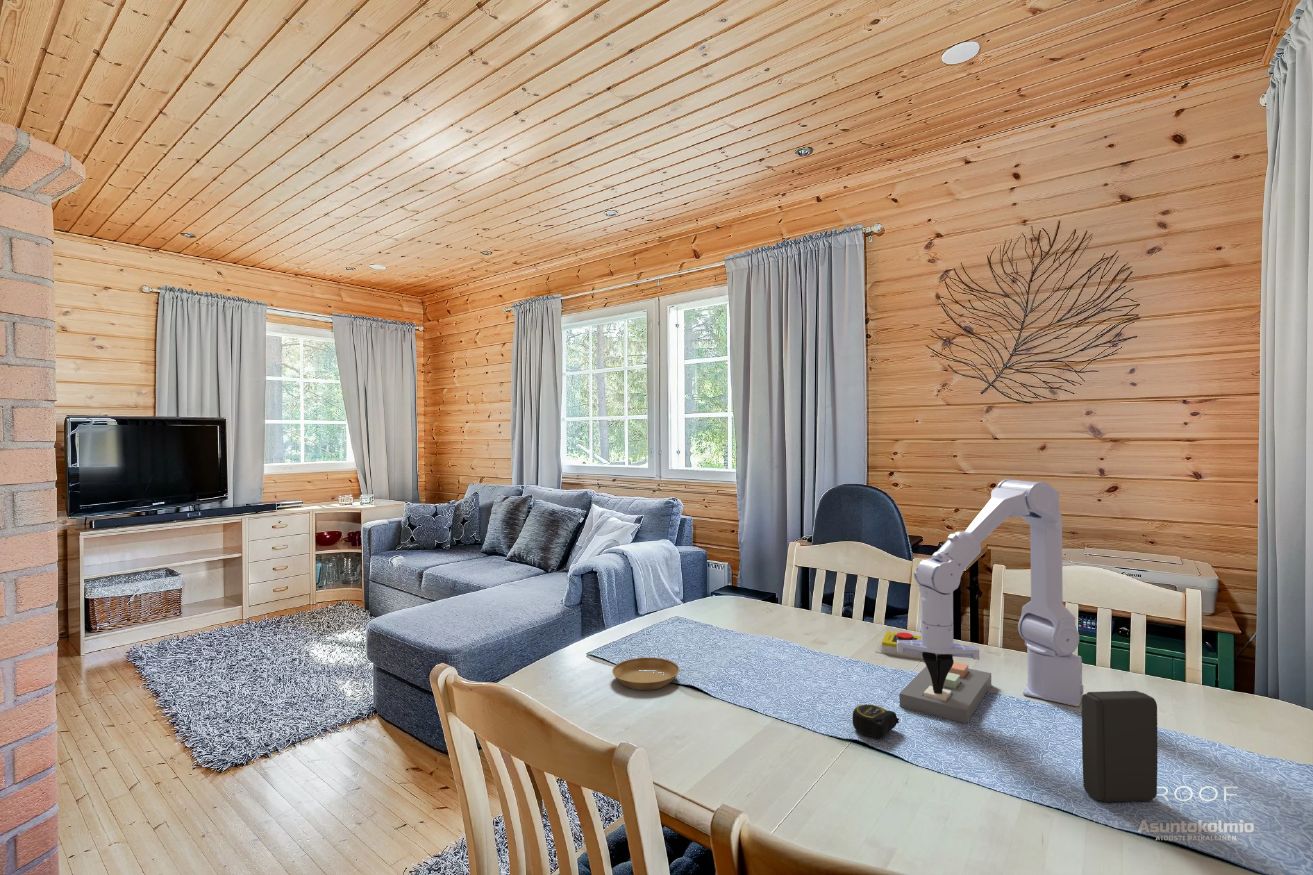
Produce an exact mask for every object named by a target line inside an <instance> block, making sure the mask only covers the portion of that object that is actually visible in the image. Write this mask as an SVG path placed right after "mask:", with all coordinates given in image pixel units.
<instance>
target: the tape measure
mask: <svg viewBox="0 0 1313 875" xmlns="http://www.w3.org/2000/svg"><path fill="white" fill-rule="evenodd" d="M899 721H900V717H899V718H898V717H897V714H896V712H894V711H892V710H887V709H885V708H884V707H881V706H878V705H875V704H860V705H857V706H856V707H855V708H854V709H853V711H852V726H853V727H854V729H855V730H856V731H857V732H859V733H860V734H862V735H864V736H868V737H874V738H879V739H882V738H884V737H885V736H886V735H887V733H889V732H890V731H891V730H893V729H894V728H895V727H896V726H897V724H899V723H900V722H899Z"/></svg>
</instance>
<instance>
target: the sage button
mask: <svg viewBox="0 0 1313 875" xmlns="http://www.w3.org/2000/svg"><path fill="white" fill-rule="evenodd" d="M959 686H960V675H958V674H954V673H948V675H947V677H946V679H945V682H944V685H943V687H948V688H952V689H957V688H958V687H959Z"/></svg>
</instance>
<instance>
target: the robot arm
mask: <svg viewBox="0 0 1313 875" xmlns="http://www.w3.org/2000/svg"><path fill="white" fill-rule="evenodd" d="M990 495H991V496H990V498H989V500H988V501H987V503H986V504H985V506H984V507H983V508H982V509H981V510H980V512H979V513H978V514H977V516H975V518H974V519H973V520H972V521H971V523H970V524H969V525H968V527H967V528H966V529H965V530H964V531H955V532H954V533H950V534H949V535H948V536H947V540H946V541H945V542H944V543H943V545H941V547H939V549H938V550H937V551H935V552H934V553H933V554H932V556H931V558H927V559H923V560H921V561H920V563H919V564H918V565H917V567H916V569H915V571H914V572H913V577H914V578H913V579H914V580H915V582H916V584H917V585H918V592H919V594H920V636H921V640H897V652H898V653H903V652H910V653H921V654H922V656H923V659H924V660H923V662H924V663H925V667H926V666H927V668H928V671H929V673H930V676H931V680H932V685H933V691H934V693H937V694H942V690H943V685H944V682H945V679H946V677H947V675H948V673H949V671H950V669H951V668H952V666H953V663H954V662H955V661H954V657H957V658H958V657H959V658H969V659H973V660H977V661H979V660H980V648H979V646H975V645H967V644H960V643H955V642H954V591H955V590H957V589H958V588H959V586H960V583H961V577H962V575H963V573H964V571H965V569H967V567H968V566H969V565H970V564H971V563H972V562H973V561H974V560H975V559H976V558H977V557H978V556H979V554H981V550H982V548H981V543H982V542H983V541H984V540H985V539H987V537H989V536H990V535H991V534H992V533H993V532H994V531H995V530H996V529H997V528H998V527H999V526H1000V525H1001V524H1003V523H1004V522H1005V521H1006V520H1007V519H1008V518H1014V517H1020V518H1022V520H1024V521H1025V522H1026V523H1028V525H1029V526H1030V533H1029V534H1030V535H1029V536H1030V538H1029V539H1030V601H1028V602H1027V603H1025V604H1024V605H1023V606H1022V607H1021V615H1020V617H1019V620H1018V625H1017V630H1018V633H1019V636H1020V637H1021V638H1022V640H1024V646H1026V647H1027V648H1026V649H1027V652H1026V653H1027V654H1026V655H1027V657H1026V658H1027V683H1026V684H1025V687H1024V688H1023V691H1022V694H1023V695H1024V696H1028V697H1033V698H1037V699H1041V700H1047V701H1050V702H1055V703H1059V704H1060V703H1061V704H1064V705H1069V706H1074V707H1080V706H1081V705H1080V704H1081V702H1082V696H1083V695H1084V685H1083V658H1082V656H1080V655H1077V654H1074V652H1075V651H1076V650H1077V649H1078V648H1079V647H1078V646H1079V644H1080V633H1079V631H1078V628H1077V626H1076V617H1075V616H1074V615H1073V614H1072V612H1071V611H1070V610H1069V609H1068V608H1067V607H1066V606H1065V605H1064V603H1063V600H1064V599H1063V517H1062V516H1063V515H1062V513H1061V512H1062V511H1061V510H1060V492H1059V491H1058V490H1057V489H1056V488H1055V487H1054V486H1053V485H1051V484H1050V483H1048V482H1045V481H1028V480H1019V479H1018V480H1016V479H1013V478H1005V479H1003V480H1001V481H1000V482H998V484H997V486H996V487H994V488H993V489H992V490H991V494H990ZM936 655H937V657H936Z"/></svg>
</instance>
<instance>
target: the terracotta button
mask: <svg viewBox="0 0 1313 875" xmlns="http://www.w3.org/2000/svg"><path fill="white" fill-rule="evenodd" d="M968 668H969V664H967V663H962V662H957V661H954V663H953V666H952V668H951V669H950V671H949V673H954V674H958V675H960V677H961V678H966V677H967V675H968Z"/></svg>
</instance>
